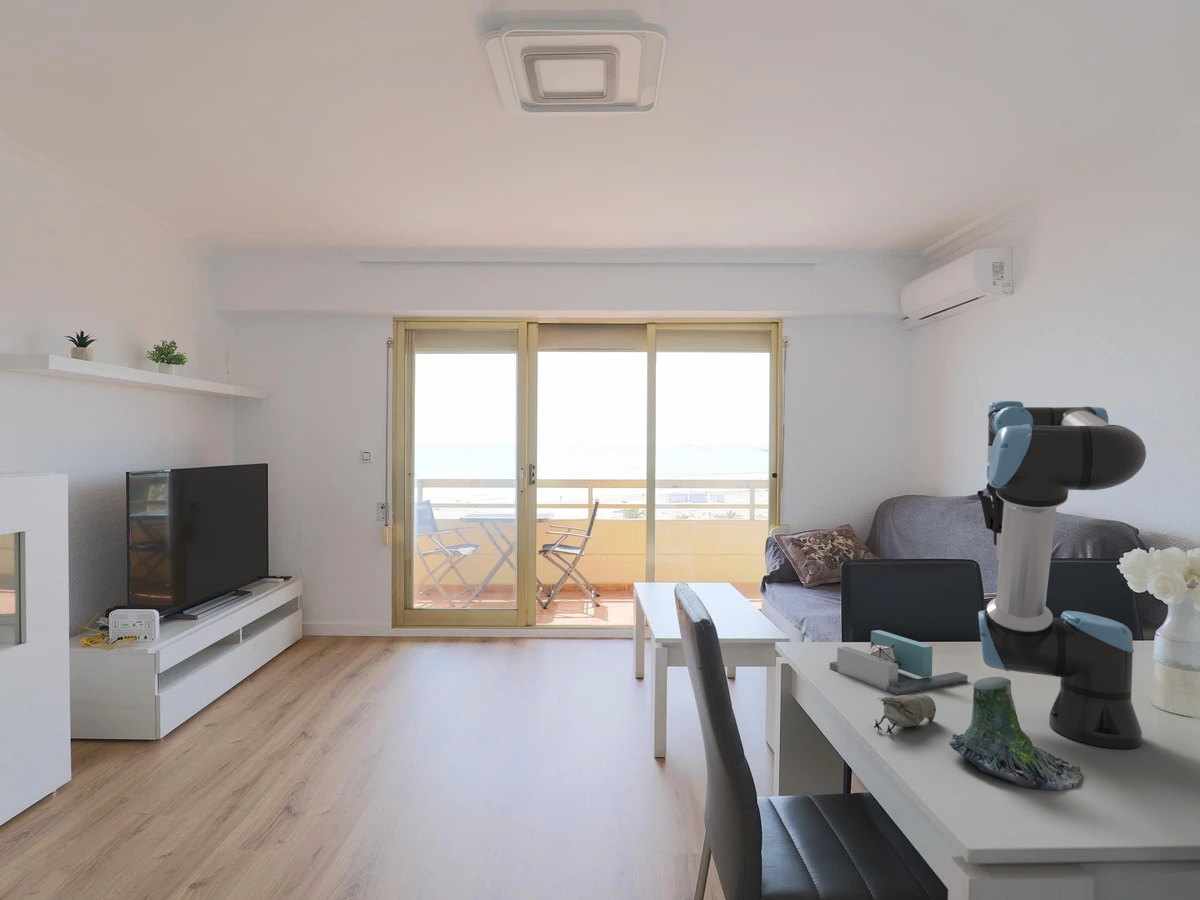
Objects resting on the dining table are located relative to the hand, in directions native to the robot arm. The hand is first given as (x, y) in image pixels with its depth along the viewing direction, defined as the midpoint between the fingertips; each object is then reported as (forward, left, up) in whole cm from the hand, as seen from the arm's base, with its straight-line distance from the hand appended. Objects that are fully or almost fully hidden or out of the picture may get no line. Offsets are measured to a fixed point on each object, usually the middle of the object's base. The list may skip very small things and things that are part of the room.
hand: (1002, 559), depth 174 cm
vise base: (+12, +23, -29) cm, 39 cm away
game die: (+13, +27, -30) cm, 42 cm away
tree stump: (-33, +45, -30) cm, 63 cm away
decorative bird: (-12, +47, -30) cm, 57 cm away
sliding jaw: (+12, +21, -28) cm, 37 cm away
